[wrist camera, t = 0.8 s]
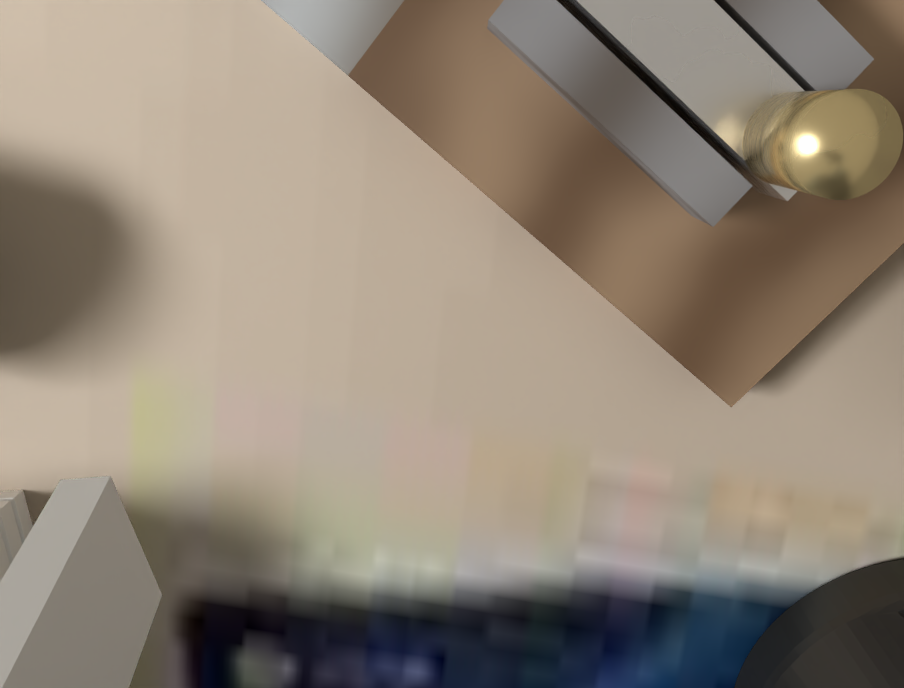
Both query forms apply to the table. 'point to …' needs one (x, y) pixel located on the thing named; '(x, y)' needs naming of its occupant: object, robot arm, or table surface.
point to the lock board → (626, 216)
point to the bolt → (749, 99)
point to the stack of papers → (12, 526)
